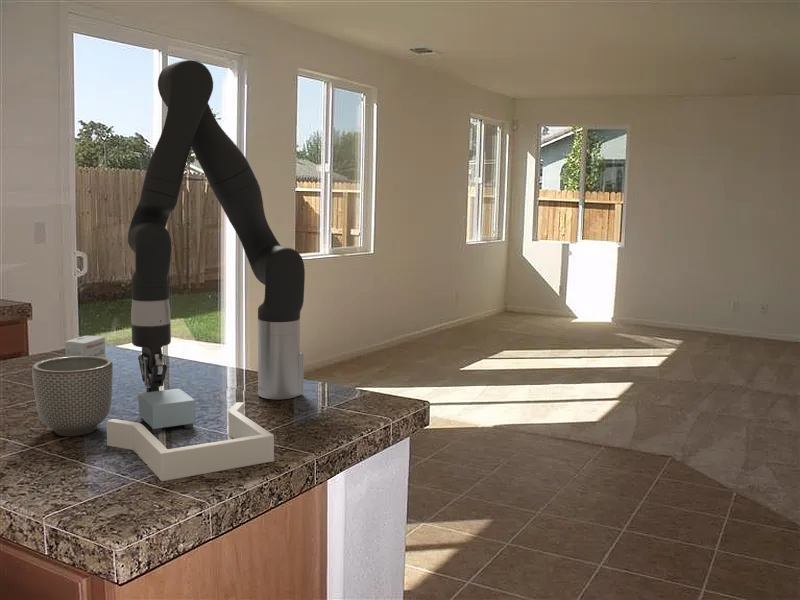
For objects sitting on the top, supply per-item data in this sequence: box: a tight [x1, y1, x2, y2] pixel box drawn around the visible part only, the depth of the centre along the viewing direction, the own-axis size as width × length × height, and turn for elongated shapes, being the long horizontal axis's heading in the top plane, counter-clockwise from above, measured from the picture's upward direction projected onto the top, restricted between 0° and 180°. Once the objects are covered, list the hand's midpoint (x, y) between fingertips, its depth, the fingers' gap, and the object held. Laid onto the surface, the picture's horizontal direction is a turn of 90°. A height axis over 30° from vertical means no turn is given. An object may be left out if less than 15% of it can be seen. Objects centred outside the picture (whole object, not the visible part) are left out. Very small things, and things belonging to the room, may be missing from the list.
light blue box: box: [137, 388, 196, 434], centre depth 154 cm, size 8×10×6 cm
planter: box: [31, 356, 114, 437], centre depth 148 cm, size 14×14×13 cm
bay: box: [106, 401, 275, 482], centre depth 139 cm, size 26×23×4 cm
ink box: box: [64, 335, 107, 358], centre depth 177 cm, size 9×5×12 cm, turn 168°
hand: (153, 404), depth 162 cm, fingers closed
